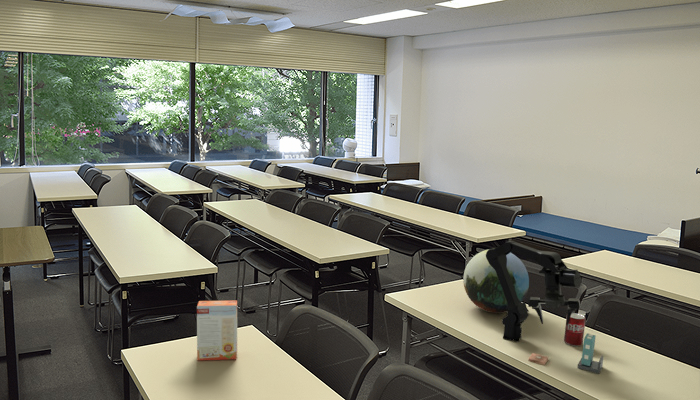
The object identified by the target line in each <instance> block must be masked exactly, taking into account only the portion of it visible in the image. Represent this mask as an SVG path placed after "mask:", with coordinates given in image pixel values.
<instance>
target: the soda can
mask: <svg viewBox="0 0 700 400" xmlns="http://www.w3.org/2000/svg"><path fill="white" fill-rule="evenodd" d="M585 326H586V316H584V315H583V314H581V313H577V312H576V313H575V312H572V314H571V316H570V320H569V323H568V325H567V316H566V318H565V328H564V334H563V335H564V336H563V342H564V343H565V344H566V345H568V346H572V347H581V346H582V345H583V344H584V338H585V337H584V335H585Z"/></svg>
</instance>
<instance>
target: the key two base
mask: <svg viewBox="0 0 700 400" xmlns="http://www.w3.org/2000/svg"><path fill="white" fill-rule="evenodd" d="M604 357H605V356H604V355H603V354H602V355H600V357H599V358H600V359H599V360H598V361H596V360H593V361H592V363H591V365H590V366H587V365H584V364H581V361H582V357H581V358H580V360H579V361H578V364H577V369H579V370H583V371H587V372H590V373H594V374H597V375H600V373H601V371H602V369H603V363H604Z"/></svg>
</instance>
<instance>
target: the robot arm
mask: <svg viewBox="0 0 700 400" xmlns="http://www.w3.org/2000/svg"><path fill="white" fill-rule="evenodd" d="M487 250H488V251H487V253H486V258H487V260H488V262H489V264H490V265H491V266H492V267H493V268H494V269H495V271H496V274H497V276H498V279H499V282H500V285H501V287H502V290H503V293H504V296H505V298H506V301H507V310H506V311H507V312H506V314H507V315H506V316H505V317H503V318H501V323H502V325H504V328H503V336H502V339H504V340H508V341H512V342H513V341H514V342H519V341H520V340H521V338H522V333H523V327H522V324H523V323H525V321H526V320H527V319H528V317H529V312H530V311H529V309H528V308H527V307H529V308H531V309H532V310H534V311H535V312H536V313H537V315H538V319H539V321H540V323H541V324H542V325H543V324H544V317H543V311H542V309H543V308H542V306H545V308H546V309H559V308H560V306H563V307H564V306H565V307H566V306H567V313H566V317H567V325H568V323H569V320H570V316H571V314H572V313H574V311H577V310H578V309H580V308H581V301H580V299H579V298H573V297H572V298H568V300H565V294H562V290H561V288H562V287H566V288H575V289H576V288H577V289H578V288H580V287H581V285H582V277H581V274H580V273H579V269H569V268H568V266H567V265H566V263H565V262H564V261H563V260H562V257H561V255H560V254H559V252H555V251H548V250H546V251H545V250H539V249H536V248H534V247H531V246H528V245H525V244H522V243H519V242H516V241H515V240H508V241H506V242H504V243H503V244H501V245H499V246H497V247H494V248H489V249H487ZM509 253H512V254H515V255H518V256H521V257H524V258H527V259H529V260H532V261H534V262H536V263H537V264H538V265H539V266H540V267H542V269H540V270H539V271H538V272H539V274H542V275H543V274H544V290H545V294H544V299H540V297H538V296H535V297H534V296H530V297H529V299H528V301H527V303H526V302H525V301H522V302H521V301H520V300H519V299H518V297H517V294H516V291H515V289H514V286H513V283H512V280H511V278H510V275H509V272H508V270H507V257H506V255H508V254H509ZM527 305H528V306H527Z"/></svg>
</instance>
